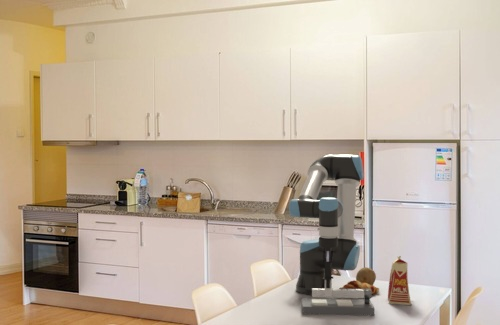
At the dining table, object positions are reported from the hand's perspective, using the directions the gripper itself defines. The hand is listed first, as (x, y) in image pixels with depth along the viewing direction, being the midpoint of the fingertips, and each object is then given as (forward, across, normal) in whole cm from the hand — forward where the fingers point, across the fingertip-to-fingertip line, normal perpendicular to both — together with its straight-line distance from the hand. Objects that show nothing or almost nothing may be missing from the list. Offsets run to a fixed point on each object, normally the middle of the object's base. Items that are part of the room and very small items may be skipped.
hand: (328, 295), depth 224 cm
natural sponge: (+7, -41, +16) cm, 45 cm away
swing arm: (+1, -3, +5) cm, 6 cm away
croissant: (+7, -29, +12) cm, 32 cm away
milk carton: (+7, -22, +29) cm, 37 cm away
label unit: (+7, -3, +3) cm, 8 cm away
